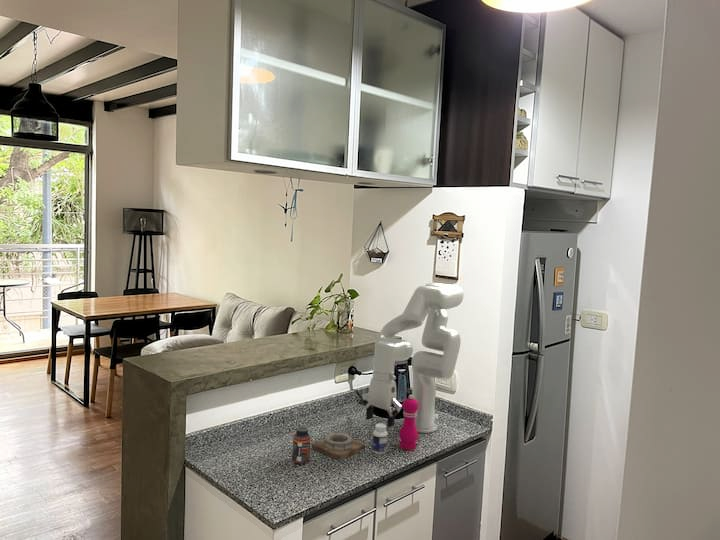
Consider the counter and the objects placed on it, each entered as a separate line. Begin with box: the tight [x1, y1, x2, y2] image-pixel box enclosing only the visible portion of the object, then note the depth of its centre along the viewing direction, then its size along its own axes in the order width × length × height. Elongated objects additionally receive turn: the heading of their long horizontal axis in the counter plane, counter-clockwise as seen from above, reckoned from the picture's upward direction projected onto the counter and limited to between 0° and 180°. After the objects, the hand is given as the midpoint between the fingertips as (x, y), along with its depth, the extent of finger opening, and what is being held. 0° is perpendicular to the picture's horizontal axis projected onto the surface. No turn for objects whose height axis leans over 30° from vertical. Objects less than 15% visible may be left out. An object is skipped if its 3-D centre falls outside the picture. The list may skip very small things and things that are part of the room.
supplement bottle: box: [291, 426, 311, 465], centre depth 182 cm, size 6×6×11 cm
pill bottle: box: [371, 423, 389, 455], centre depth 193 cm, size 5×5×10 cm
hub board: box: [310, 432, 366, 461], centre depth 194 cm, size 14×14×4 cm
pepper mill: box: [398, 394, 419, 451], centre depth 198 cm, size 7×7×20 cm
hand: (379, 422), depth 192 cm, fingers open, 9 cm apart
